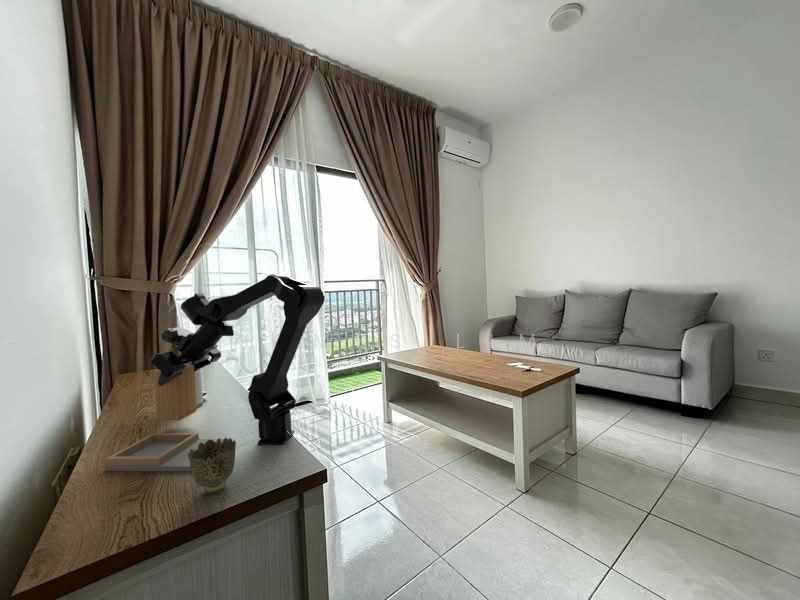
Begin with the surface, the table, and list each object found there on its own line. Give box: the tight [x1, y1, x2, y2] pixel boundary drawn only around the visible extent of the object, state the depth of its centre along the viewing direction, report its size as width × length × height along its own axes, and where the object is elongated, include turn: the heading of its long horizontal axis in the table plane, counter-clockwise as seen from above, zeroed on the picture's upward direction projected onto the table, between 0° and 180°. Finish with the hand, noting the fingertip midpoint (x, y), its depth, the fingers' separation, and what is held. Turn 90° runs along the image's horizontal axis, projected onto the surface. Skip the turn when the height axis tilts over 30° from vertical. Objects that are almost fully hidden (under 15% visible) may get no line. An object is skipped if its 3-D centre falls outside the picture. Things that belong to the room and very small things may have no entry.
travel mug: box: [180, 351, 204, 408], centre depth 104 cm, size 6×7×20 cm
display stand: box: [104, 432, 233, 472], centre depth 72 cm, size 20×12×2 cm, turn 86°
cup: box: [188, 437, 237, 495], centre depth 59 cm, size 8×7×8 cm
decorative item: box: [153, 343, 198, 422], centre depth 86 cm, size 7×7×20 cm
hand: (170, 380), depth 86 cm, fingers closed on decorative item, 7 cm apart
